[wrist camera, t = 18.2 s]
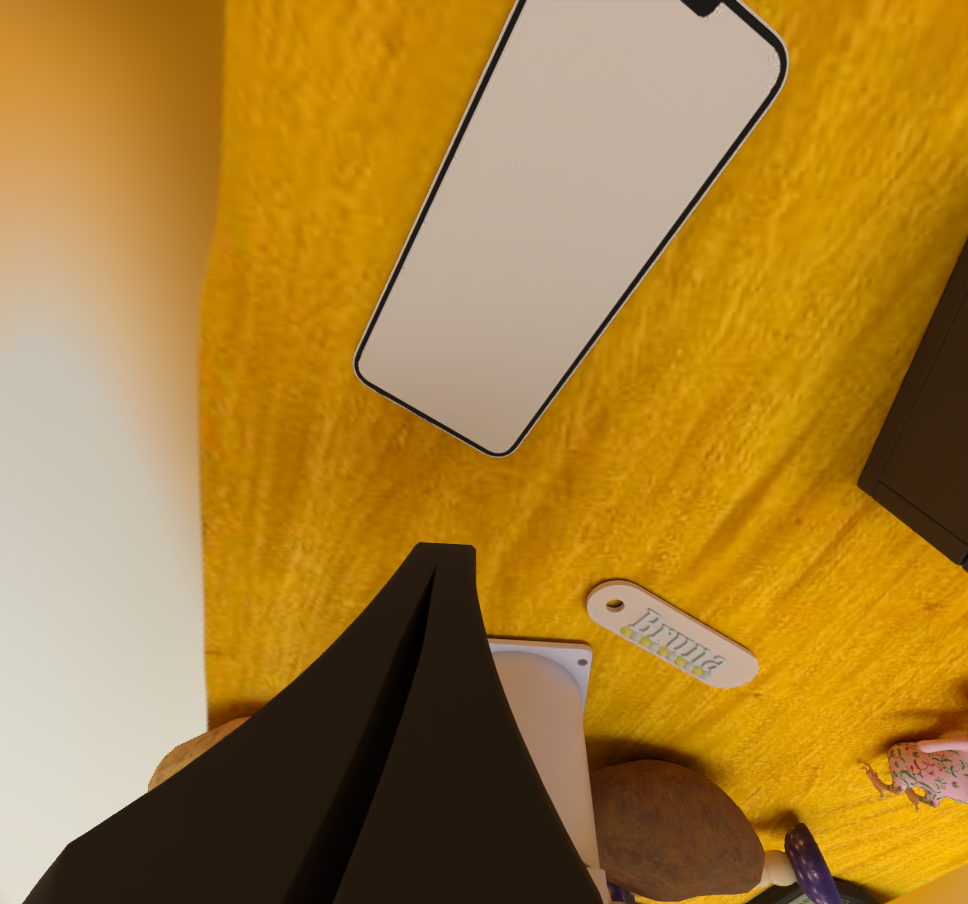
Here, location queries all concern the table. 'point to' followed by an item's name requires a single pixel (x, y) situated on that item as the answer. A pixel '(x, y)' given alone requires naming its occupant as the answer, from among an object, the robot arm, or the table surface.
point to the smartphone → (561, 201)
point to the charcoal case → (930, 432)
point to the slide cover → (965, 565)
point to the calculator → (792, 900)
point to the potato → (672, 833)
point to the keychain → (671, 635)
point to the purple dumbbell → (782, 870)
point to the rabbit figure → (928, 770)
